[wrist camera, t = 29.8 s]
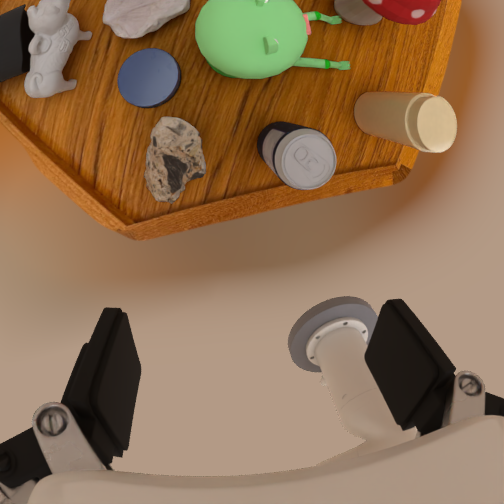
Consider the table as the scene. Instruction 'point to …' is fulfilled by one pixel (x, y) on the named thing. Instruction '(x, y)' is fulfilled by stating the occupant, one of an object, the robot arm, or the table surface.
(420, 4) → the decorative mushroom
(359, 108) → the lidded jar
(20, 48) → the pen holder
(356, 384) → the robot arm
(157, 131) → the rock
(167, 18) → the fossil
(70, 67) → the table surface
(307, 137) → the beverage can
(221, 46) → the toy character
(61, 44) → the dog figurine
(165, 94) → the lid
